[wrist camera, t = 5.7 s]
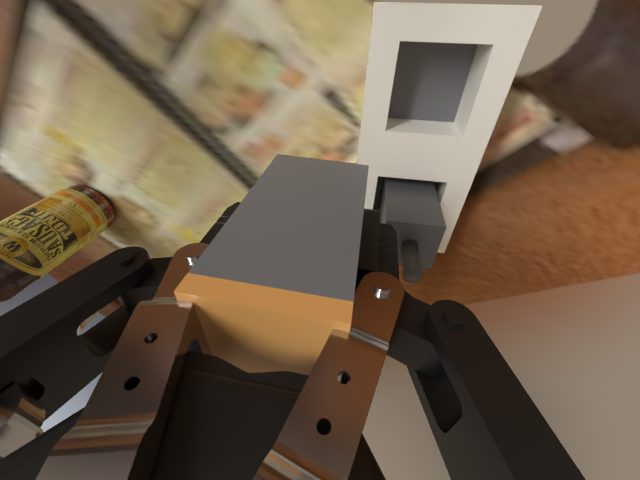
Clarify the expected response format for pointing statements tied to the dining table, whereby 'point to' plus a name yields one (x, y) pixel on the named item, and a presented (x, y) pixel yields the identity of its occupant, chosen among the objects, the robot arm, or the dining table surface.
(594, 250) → the dining table surface
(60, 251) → the sauce bottle
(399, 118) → the white rectangular frame
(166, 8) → the dining table surface
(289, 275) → the plug
